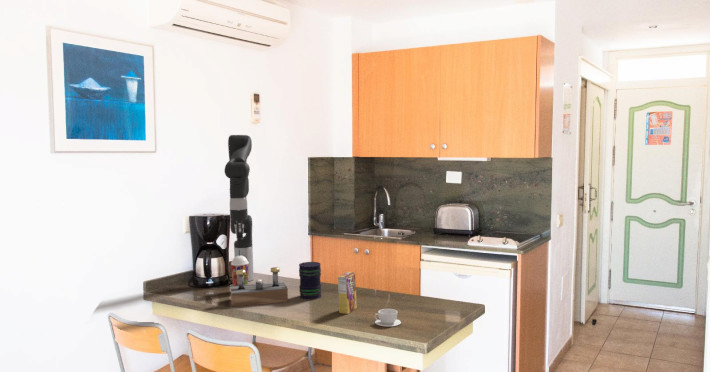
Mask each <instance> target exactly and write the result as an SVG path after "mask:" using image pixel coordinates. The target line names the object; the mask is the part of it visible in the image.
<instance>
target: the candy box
mask: <svg viewBox="0 0 710 372" xmlns="http://www.w3.org/2000/svg"><path fill="white" fill-rule="evenodd" d="M337 284H338V285H337V286H338V288H337V289H338V290H337V291H338V310H339V311H338V312H339V314H343V315H346V314H347V315H348V314H350V313H352V312H353V311H354V310H356V309H357V288H356V271H355V272H353V271H346V272H344V273H342V274H340V275H338V277H337Z"/></svg>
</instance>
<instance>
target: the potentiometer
mask: <svg viewBox="0 0 710 372" xmlns="http://www.w3.org/2000/svg"><path fill="white" fill-rule="evenodd" d="M262 280H263V279H256V281H255V284H256V290H262V289H263V281H262Z"/></svg>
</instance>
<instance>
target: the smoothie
mask: <svg viewBox="0 0 710 372" xmlns="http://www.w3.org/2000/svg"><path fill="white" fill-rule="evenodd" d="M230 267H231V278H232V279H231V280H232V286H238V285H239V284H238V275H236V271H237V270H245V272H246V274H244V285H249V281H248V276H249V262H248V260H247V259H246V257H244V256H242V255H240V250H239V255H238V256H236V257H233V258H232V260H231V263H230Z"/></svg>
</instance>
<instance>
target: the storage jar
mask: <svg viewBox="0 0 710 372" xmlns="http://www.w3.org/2000/svg"><path fill="white" fill-rule="evenodd" d="M298 266H299V267H298V269H299V270H298V273H299V294H300V295H299V298H300V299H302V300H309V301H310V300H312V301H313V300H317V299H320V298H322V283H321V276H322V269H321V268H322V267H321V262H318V261H306V262H305V261H304V262H299V264H298Z"/></svg>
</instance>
